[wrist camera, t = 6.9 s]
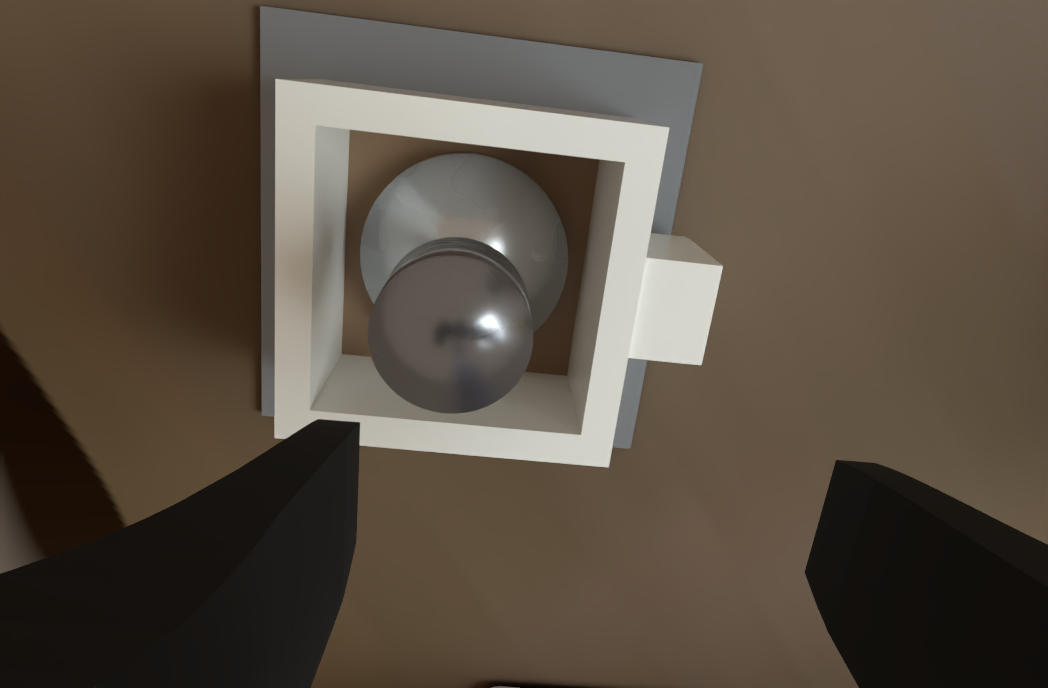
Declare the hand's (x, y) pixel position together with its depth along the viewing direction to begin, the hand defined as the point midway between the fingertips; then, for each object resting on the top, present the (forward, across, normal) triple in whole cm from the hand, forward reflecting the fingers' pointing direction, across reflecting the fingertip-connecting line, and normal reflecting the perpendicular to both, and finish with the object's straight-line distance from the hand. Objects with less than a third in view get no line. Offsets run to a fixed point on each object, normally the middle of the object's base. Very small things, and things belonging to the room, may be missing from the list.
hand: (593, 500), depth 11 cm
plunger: (+10, +2, -1) cm, 10 cm away
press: (+10, +2, -1) cm, 11 cm away
